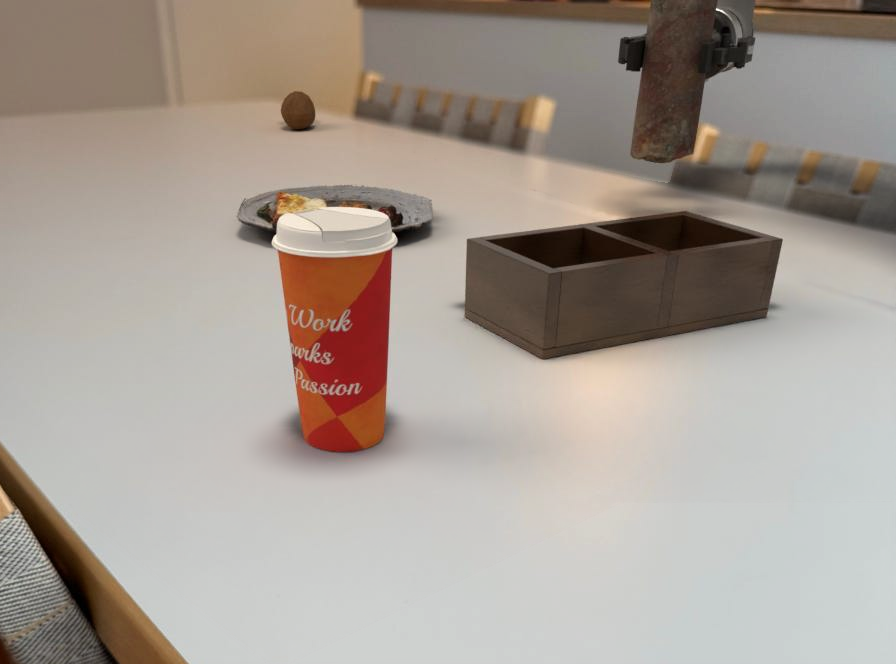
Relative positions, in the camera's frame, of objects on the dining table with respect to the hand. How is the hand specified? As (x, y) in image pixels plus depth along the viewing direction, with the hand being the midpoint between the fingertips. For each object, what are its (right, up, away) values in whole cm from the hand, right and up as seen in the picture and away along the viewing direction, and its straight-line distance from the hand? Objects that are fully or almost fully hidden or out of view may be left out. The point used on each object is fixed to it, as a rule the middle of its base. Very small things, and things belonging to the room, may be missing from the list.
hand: (666, 57), depth 104 cm
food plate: (-37, -13, +13) cm, 41 cm away
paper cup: (-32, -49, -38) cm, 70 cm away
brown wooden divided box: (-9, -34, -16) cm, 38 cm away
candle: (+2, -7, +10) cm, 12 cm away
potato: (-50, +36, +81) cm, 102 cm away
